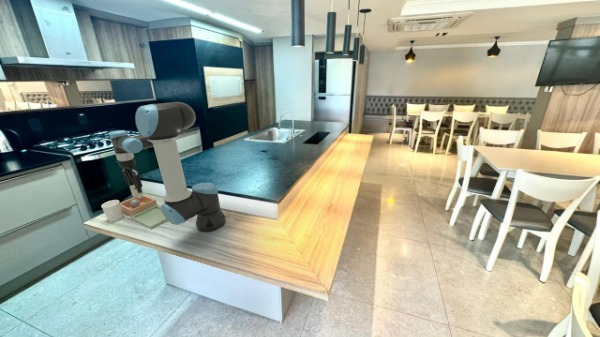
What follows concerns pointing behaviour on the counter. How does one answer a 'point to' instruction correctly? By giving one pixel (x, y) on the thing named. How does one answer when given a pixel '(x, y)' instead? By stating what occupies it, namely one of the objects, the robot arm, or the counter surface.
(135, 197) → the sand pebble
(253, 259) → the counter surface
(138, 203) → the slate pebble
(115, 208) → the white cup
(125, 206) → the terracotta dish
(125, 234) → the counter surface
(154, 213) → the parts tray
